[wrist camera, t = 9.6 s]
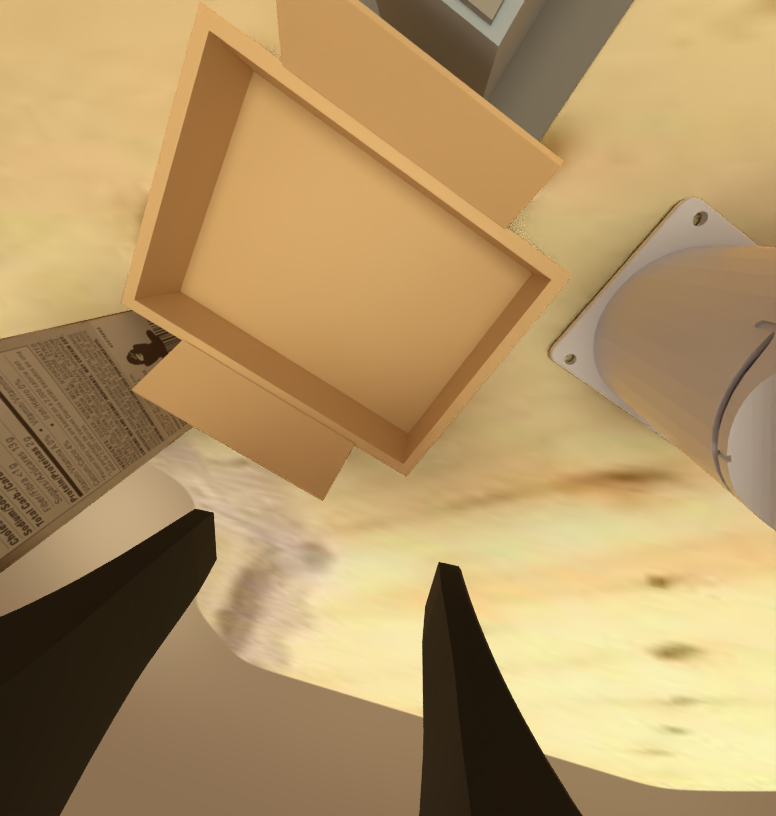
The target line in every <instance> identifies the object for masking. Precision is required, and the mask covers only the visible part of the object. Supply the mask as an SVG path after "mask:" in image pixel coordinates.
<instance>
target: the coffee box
mask: <svg viewBox="0 0 776 816" xmlns="http://www.w3.org/2000/svg"><path fill="white" fill-rule="evenodd" d="M181 341H182V340H181V339H179V338H177V337H176V336H174V335H172V334H171V333H169V332H168V331H166V330H164V329H163V328H161V327H159V326H158V325H156V324H154V323H153V322H151V321H149V320H148V319H146V318H144V317H143V316H141V315H140V314H138V313H136V312H135V311H133V310H130V311H125V312H120V313H116V314H111V315H107V316H103V317H98V318H94V319H89V320H84V321H80V322H75V323H71V324H66V325H62V326H58V327H53V328H49V329H44V330H39V331H34V332H29V333H25V334H20V335H16V336H11V337H7V338H3V339H0V573H1V572H2V571H4V570H5V569H6V568H8V567H9V566H10V565H12V564H13V563H14V562H16V561H17V560H18V559H19V558H21V557H22V556H24V555H25V554H26V553H27V552H29V551H30V550H31V549H33V548H34V547H36V546H37V545H38V544H40V543H41V542H42V541H43V540H45V539H46V538H47V537H49V536H50V535H51V534H53V533H54V532H55V531H56V530H58V529H59V528H60V527H62V526H63V525H65V524H66V523H67V522H69V521H70V520H71V519H73V518H74V517H75V516H77V515H78V514H79V513H80V512H82V511H83V510H84V509H85V508H87V507H88V506H90V505H91V504H92V503H94V502H95V501H96V500H97V499H99V498H100V497H101V496H103V495H104V494H105V493H106V492H108V491H109V490H110V489H112V488H113V487H114V486H116V485H117V484H118V483H120V482H121V481H122V480H124V479H125V478H126V477H128V476H129V475H130V474H132V473H133V472H134V471H136V470H137V469H138V468H140V467H141V466H142V465H143V464H145V463H146V462H147V461H149V460H150V459H151V458H153V457H154V456H155V455H157V454H158V453H159V452H161V451H162V450H163V449H164V448H166V447H167V446H168V445H170V444H171V443H172V442H174V441H175V440H176V439H178V438H179V437H180V436H182V435H183V434H184V433H185V432H186V431H188V430H189V429H191V428H192V427H194V426H192V425H190V424H188V423H187V422H185V421H183V420H181V419H180V418H178V417H176V416H175V415H173V414H171V413H169V412H168V411H166V410H164V409H162V408H161V407H159V406H157V405H155V404H154V403H152V402H150V401H149V400H147V399H145V398H143V397H142V396H140V395H138V394H136V393H135V392H133V391H132V388H134V387H135V386H136V385H137V384H138V383H139V382H140V381H141V380H142V379H143V378H144V377H145V376H146V375H147V374H148V373H149V372H150V371H151V370H152V369H153V368H154V367H155V366H156V365H157V364H158V363H159V362H160V361H161V360H162V359H163V358H164V357H166V356H167V355H168V354H169V353H170V352H171V351H172V350H173V349H174V348H175V347H176V346H177V345H178V344H179V343H180V342H181Z"/></svg>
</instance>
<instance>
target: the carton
mask: <svg viewBox="0 0 776 816" xmlns="http://www.w3.org/2000/svg"><path fill="white" fill-rule="evenodd" d="M276 2H277V14H278V26H279V37H280V49H281V61H280V60H279V59H278V58H276V57H275V56H274V55H272V54H271V53H270V52H268V51H267V50H266V49H264V48H263V47H261V46H260V45H259V44H257V43H256V42H255V41H253V40H252V39H251V38H249V37H248V36H247V35H245V34H244V33H243V32H241V31H240V30H238V29H237V28H236V27H234V26H233V25H232V24H230V23H229V22H228V21H226V20H225V19H224V18H222V17H221V16H219V15H218V14H217V13H215V12H214V11H213V10H211V9H210V8H209V7H207V6H206V5H205V4H203V3H202V2H199V6H198V10H197V14H196V18H195V22H194V25H193V29H192V33H191V37H190V41H189V45H188V48H187V52H186V56H185V60H184V64H183V67H182V71H181V75H180V79H179V83H178V87H177V90H176V94H175V98H174V102H173V106H172V110H171V113H170V117H169V121H168V125H167V129H166V132H165V136H164V140H163V144H162V148H161V152H160V155H159V159H158V163H157V167H156V171H155V175H154V178H153V182H152V186H151V190H150V194H149V197H148V201H147V205H146V209H145V213H144V217H143V220H142V224H141V228H140V232H139V236H138V240H137V243H136V247H135V251H134V255H133V259H132V262H131V266H130V270H129V274H128V278H127V282H126V285H125V289H124V293H123V297H122V301H121V304H123V305H125V306H126V307H128V308H130V309H131V310H133V311H135V312H136V313H138V314H140V315H141V316H143V317H144V318H146V319H148V320H149V321H151V322H153V323H154V324H156V325H158V326H159V327H161V328H163V329H164V330H166V331H168V332H169V333H171V334H172V335H174V336H176V337H177V338H179V339H181V340H182V341H181V342H180V343H179V344H178V345H177V346H176V347H175V348H174V349H173V350H172V351H171V352H170V353H169V354H168V355H167V356H166V357H164V358H163V359H162V360H161V361H160V362H159V363H158V364H157V365H156V366H155V367H154V368H153V369H152V370H151V371H150V372H149V373H148V374H147V375H146V376H145V377H144V378H143V379H142V380H141V381H140V382H139V383H138V384H137V385H136V386H135V387H134V388H132V391H133V392H135V393H136V394H138V395H140V396H142V397H143V398H145V399H147V400H149V401H150V402H152V403H154V404H155V405H157V406H159V407H161V408H162V409H164V410H166V411H168V412H169V413H171V414H173V415H175V416H176V417H178V418H180V419H181V420H183V421H185V422H187V423H188V424H190V425H192V426H194V427H195V428H197V429H199V430H200V431H202V432H204V433H206V434H207V435H209V436H211V437H213V438H214V439H216V440H218V441H220V442H221V443H223V444H225V445H226V446H228V447H230V448H232V449H233V450H235V451H237V452H239V453H240V454H242V455H244V456H245V457H247V458H249V459H251V460H252V461H254V462H256V463H258V464H259V465H261V466H263V467H265V468H266V469H268V470H270V471H271V472H273V473H275V474H277V475H278V476H280V477H282V478H284V479H285V480H287V481H289V482H290V483H292V484H294V485H296V486H297V487H299V488H301V489H303V490H304V491H306V492H308V493H310V494H311V495H313V496H315V497H316V498H318V499H320V500H322V501H323V500H324V498H325V496H326V494H327V493H328V491H329V489H330V487H331V485H332V484H333V482H334V480H335V478H336V476H337V475H338V473H339V471H340V469H341V468H342V466H343V464H344V462H345V460H346V459H347V457H348V455H349V453H350V451H351V450H352V448H353V446H354V445H355V446H357V447H359V448H360V449H362V450H364V451H365V452H367V453H368V454H370V455H372V456H373V457H375V458H377V459H378V460H380V461H382V462H383V463H385V464H387V465H388V466H390V467H392V468H393V469H395V470H396V471H398V472H400V473H401V474H403V475H405V476H407V475H408V474H409V473H410V471H411V470H412V469H413V468H414V466H415V465H416V464H417V463H418V462H419V460H420V459H421V458H422V457H423V456H424V454H425V453H426V452H427V451H428V449H429V448H430V447H431V446H432V445H433V443H434V442H435V441H436V440H437V439H438V437H439V436H440V435H441V434H442V433H443V431H444V430H445V429H446V428H447V426H448V425H449V424H450V423H451V422H452V420H453V419H454V418H455V417H456V416H457V414H458V413H459V412H460V411H461V410H462V408H463V407H464V406H465V405H466V403H467V402H468V401H469V400H470V399H471V397H472V396H473V395H474V394H475V393H476V391H477V390H478V389H479V388H480V387H481V385H482V384H483V383H484V382H485V380H486V379H487V378H488V377H489V376H490V374H491V373H492V372H493V371H494V370H495V368H496V367H497V366H498V365H499V363H500V362H501V361H502V360H503V359H504V357H505V356H506V355H507V354H508V353H509V351H510V350H511V349H512V348H513V347H514V345H515V344H516V343H517V342H518V340H519V339H520V338H521V337H522V336H523V334H524V333H525V332H526V331H527V330H528V328H529V327H530V326H531V325H532V324H533V322H534V321H535V320H536V319H537V317H538V316H539V315H540V314H541V313H542V311H543V310H544V309H545V308H546V307H547V305H548V304H549V303H550V302H551V301H552V299H553V298H554V297H555V296H556V294H557V293H558V292H559V291H560V290H561V288H562V287H563V286H564V285H565V284H566V282H567V281H568V280H569V279H570V278H571V276H572V275H571V274H569V273H568V272H567V271H565V270H564V269H562V268H561V267H560V266H558V265H557V264H556V263H554V262H553V261H552V260H550V259H549V258H548V257H546V256H545V255H544V254H542V253H541V252H539V251H538V250H537V249H535V248H534V247H533V246H531V245H530V244H529V243H527V242H526V241H525V240H523V239H522V238H520V237H519V236H518V235H516V234H515V233H514V232H512V231H511V230H510V229H508V228H507V226H508V225H509V224H510V223H511V222H512V221H513V219H514V218H515V217H516V216H517V215H518V214H519V213H520V212H521V211H522V210H523V208H524V207H525V206H526V205H527V204H528V203H529V202H530V201H531V200H532V198H533V197H534V196H535V195H536V194H537V193H538V192H539V191H540V190H541V188H542V187H543V186H544V185H545V184H546V183H547V182H548V181H549V180H550V178H551V177H552V176H553V175H554V174H555V173H556V172H557V171H558V170H559V168H560V167H561V166H562V164H563V162H564V161H563V160H562V159H560V158H559V157H558V156H557V155H555V154H554V153H553V152H551V151H550V150H549V149H548V148H546V147H545V146H544V145H543V144H541V143H540V142H539V141H537V140H536V139H535V138H534V137H532V136H531V135H530V134H529V133H527V132H526V131H525V130H523V129H522V128H521V127H520V126H518V125H517V124H516V123H515V122H513V121H512V120H511V119H509V118H508V117H507V116H506V115H504V114H503V113H502V112H500V111H499V110H498V109H497V108H495V107H494V106H493V105H492V104H490V103H489V102H488V101H486V100H485V99H484V98H483V97H481V96H480V95H479V94H478V93H476V92H475V91H474V90H472V89H471V88H470V87H469V86H467V85H466V84H465V83H464V82H462V81H461V80H460V79H458V78H457V77H456V76H455V75H453V74H452V73H451V72H449V71H448V70H447V69H446V68H444V67H443V66H442V65H441V64H439V63H438V62H437V61H435V60H434V59H433V58H432V57H430V56H429V55H428V54H427V53H425V52H424V51H423V50H421V49H420V48H419V47H418V46H416V45H415V44H414V43H413V42H411V41H410V40H409V39H407V38H406V37H405V36H404V35H402V34H401V33H400V32H398V31H397V30H396V29H395V28H393V27H392V26H391V25H390V24H388V23H387V22H386V21H384V20H383V19H382V18H381V17H379V16H378V15H377V14H376V13H374V12H373V11H372V10H370V9H369V8H368V7H367V6H365V5H364V4H363V3H361V2H360V1H359V0H276Z"/></svg>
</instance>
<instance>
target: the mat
mask: <svg viewBox="0 0 776 816" xmlns="http://www.w3.org/2000/svg"><path fill="white" fill-rule="evenodd" d="M359 1H360V2H361V3H363V4H364V5H365V6H367V7H368V8H369V9H370V10H372V11H373V12H374V13H376V14H377V15H378V16H379V17H380V13H379V10H378V6H377V2H376V0H359ZM633 1H634V0H547V1H546V3H545V5H544V6H543V8H542V10H541V11H540V13H539V15H538V16H537V18H536V20H535V22H534V23H533V25H532V27H531V28H530V30H529V32H528V33H527V35H526V37H525V38H524V40H523V42H522V44H521V45H520V47H519V49H518V50H517V52H516V54H515V55H514V57H513V59H512V61H511V62H510V64H509V66H508V67H507V69H506V71H505V72H504V74H503V76H502V78H501V79H500V81H499V83H498V84H497V86H496V88H495V89H494V91H493V93H492V95H491V96H490V98H489V100H488V102H489V103H490V104H492V105H493V106H494V107H495V108H497V109H498V110H499V111H500V112H502V113H503V114H504V115H506V116H507V117H508V118H509V119H511V120H512V121H513V122H515V123H516V124H517V125H518V126H520V127H521V128H522V129H523V130H525V131H526V132H527V133H529V134H530V135H531V136H532V137H534V138H535V139H536V140H537V141H540V140H541V138H542V137H543V135H544V134H545V132H546V131H547V129H548V128H549V126H550V125H551V123H552V122H553V120H554V119H555V117H556V116H557V114H558V113H559V111H560V110H561V108H562V107H563V105H564V104H565V102H566V101H567V99H568V98H569V96H570V95H571V93H572V92H573V90H574V89H575V87H576V86H577V84H578V83H579V81H580V80H581V78H582V77H583V76H584V74H585V73H586V71H587V70H588V68H589V67H590V65H591V64H592V62H593V61H594V59H595V58H596V56H597V55H598V53H599V52H600V50H601V49H602V47H603V46H604V44H605V43H606V41H607V40H608V38H609V37H610V35H611V34H612V32H613V31H614V29H615V28H616V26H617V25H618V23H619V22H620V20H621V19H622V17H623V16H624V14H625V13H626V11H627V10H628V8H629V7H630V5H631V4H632V2H633Z"/></svg>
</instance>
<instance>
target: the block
mask: <svg viewBox="0 0 776 816" xmlns="http://www.w3.org/2000/svg"><path fill="white" fill-rule="evenodd" d="M546 1H547V0H376V2H377V6H378V10H379V13H380V17H381V18H382V19H383V20H384V21H386V22H387V23H388V24H390V25H391V26H392V27H393V28H395V29H396V30H397V31H398V32H400V33H401V34H402V35H404V36H405V37H406V38H407V39H409V40H410V41H411V42H413V43H414V44H415V45H416V46H418V47H419V48H420V49H421V50H423V51H424V52H425V53H427V54H428V55H429V56H430V57H432V58H433V59H434V60H435V61H437V62H438V63H439V64H441V65H442V66H443V67H444V68H446V69H447V70H448V71H449V72H451V73H452V74H453V75H455V76H456V77H457V78H458V79H460V80H461V81H462V82H464V83H465V84H466V85H467V86H469V87H470V88H471V89H472V90H474V91H475V92H476V93H478V94H479V95H480V96H481V97H483V98H484V99H485V100H486V101H488V100H489V98H490V96H491V95H492V93H493V91H494V89H495V88H496V86H497V84H498V83H499V81H500V79H501V78H502V76H503V74H504V72H505V71H506V69H507V67H508V66H509V64H510V62H511V61H512V59H513V57H514V55H515V54H516V52H517V50H518V49H519V47H520V45H521V44H522V42H523V40H524V38H525V37H526V35H527V33H528V32H529V30H530V28H531V27H532V25H533V23H534V22H535V20H536V18H537V16H538V15H539V13H540V11H541V10H542V8H543V6H544V5H545V3H546Z"/></svg>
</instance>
